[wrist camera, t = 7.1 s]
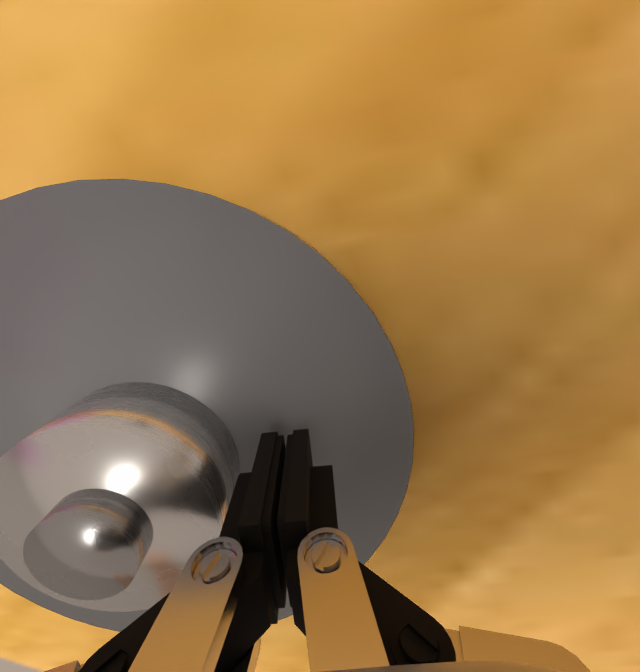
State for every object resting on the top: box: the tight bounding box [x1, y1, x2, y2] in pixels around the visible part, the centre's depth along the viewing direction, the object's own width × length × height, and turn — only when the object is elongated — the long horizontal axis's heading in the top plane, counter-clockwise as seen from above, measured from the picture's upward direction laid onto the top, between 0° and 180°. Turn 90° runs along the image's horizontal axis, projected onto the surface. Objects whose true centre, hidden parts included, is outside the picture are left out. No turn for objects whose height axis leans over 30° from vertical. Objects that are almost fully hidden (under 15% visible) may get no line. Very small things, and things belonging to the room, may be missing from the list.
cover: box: [0, 382, 240, 612], centre depth 11 cm, size 7×7×4 cm
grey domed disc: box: [0, 179, 414, 632], centre depth 11 cm, size 20×20×7 cm
